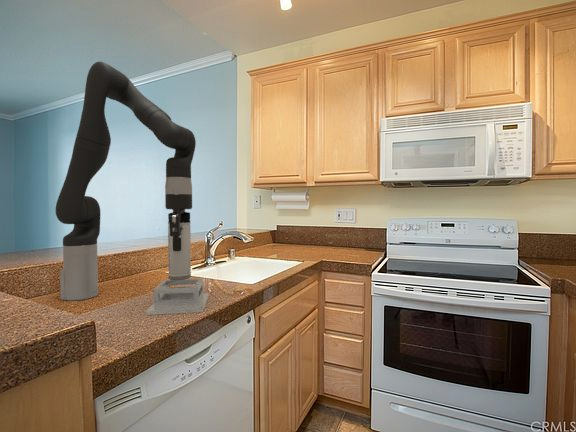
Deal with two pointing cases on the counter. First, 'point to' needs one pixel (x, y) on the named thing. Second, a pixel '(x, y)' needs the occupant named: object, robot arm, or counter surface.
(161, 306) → the collar stand
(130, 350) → the counter surface
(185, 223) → the travel mug
